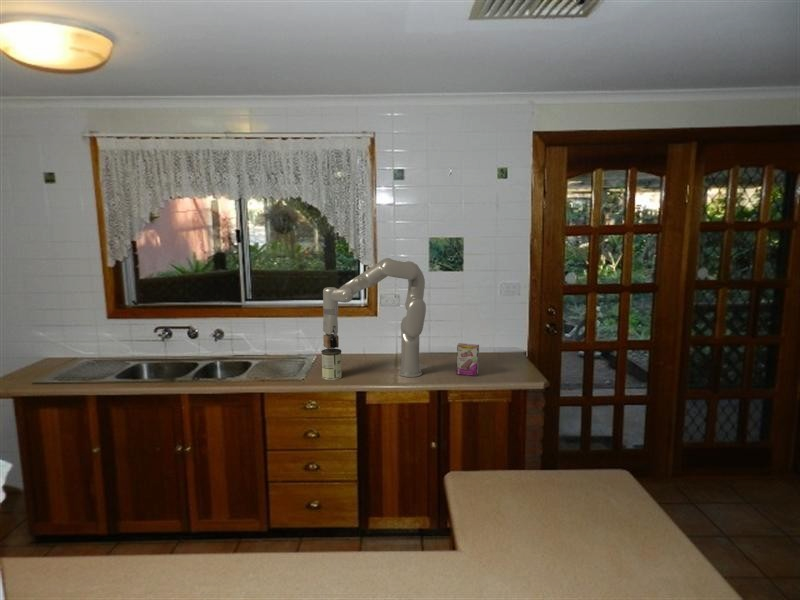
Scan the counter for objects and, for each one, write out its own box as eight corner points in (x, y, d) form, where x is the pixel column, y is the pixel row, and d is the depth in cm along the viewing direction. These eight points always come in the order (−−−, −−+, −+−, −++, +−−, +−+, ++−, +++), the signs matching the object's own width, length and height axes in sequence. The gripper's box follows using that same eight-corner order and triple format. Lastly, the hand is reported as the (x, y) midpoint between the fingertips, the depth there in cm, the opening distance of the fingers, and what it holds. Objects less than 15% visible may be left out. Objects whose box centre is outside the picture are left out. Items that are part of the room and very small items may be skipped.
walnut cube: (334, 344, 268) (334, 333, 267) (338, 347, 262) (338, 336, 261) (323, 346, 265) (323, 334, 264) (327, 348, 260) (327, 337, 259)
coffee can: (324, 373, 272) (324, 348, 269) (343, 374, 271) (343, 348, 268) (319, 379, 262) (319, 353, 259) (339, 380, 261) (339, 353, 258)
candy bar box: (456, 374, 271) (456, 344, 268) (457, 372, 275) (458, 342, 273) (477, 376, 268) (478, 346, 265) (478, 374, 272) (479, 344, 270)
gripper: (318, 309, 266) (318, 343, 269) (329, 315, 251) (330, 350, 254) (331, 308, 270) (332, 341, 273) (343, 313, 255) (344, 348, 258)
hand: (331, 345), depth 263 cm, fingers closed on walnut cube, 6 cm apart
